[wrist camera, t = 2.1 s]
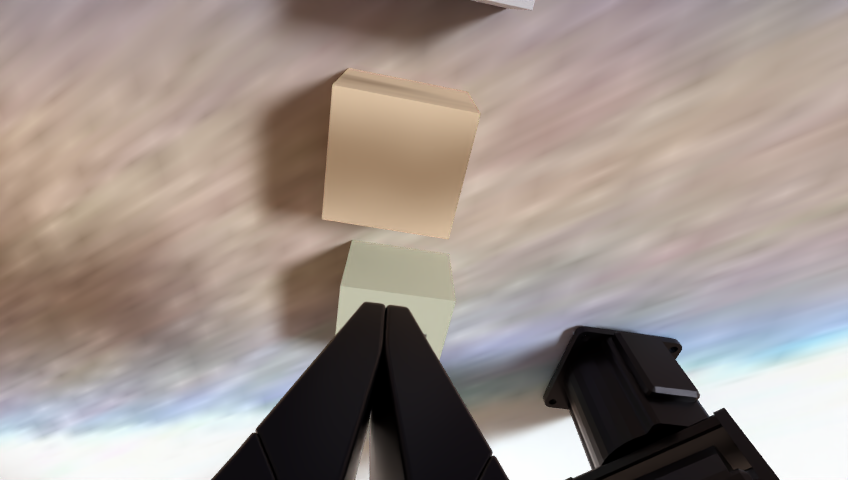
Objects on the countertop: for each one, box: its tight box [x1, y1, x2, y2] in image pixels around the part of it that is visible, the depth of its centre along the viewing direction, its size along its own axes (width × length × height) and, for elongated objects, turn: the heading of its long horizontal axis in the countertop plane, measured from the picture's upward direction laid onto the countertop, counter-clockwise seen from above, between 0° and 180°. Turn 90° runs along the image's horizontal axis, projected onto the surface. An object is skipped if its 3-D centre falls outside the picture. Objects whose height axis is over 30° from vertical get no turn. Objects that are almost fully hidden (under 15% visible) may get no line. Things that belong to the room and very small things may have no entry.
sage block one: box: [335, 240, 456, 360], centre depth 21 cm, size 5×5×4 cm
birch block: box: [322, 68, 481, 239], centre depth 17 cm, size 5×5×4 cm
